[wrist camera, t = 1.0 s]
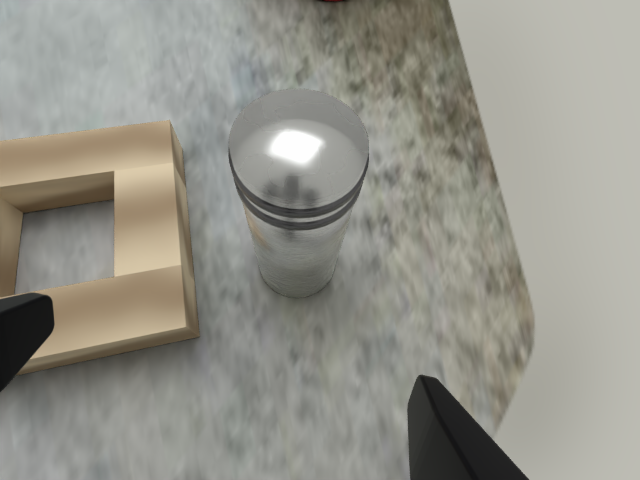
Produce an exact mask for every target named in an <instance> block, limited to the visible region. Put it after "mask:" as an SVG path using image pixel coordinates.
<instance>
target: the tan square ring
mask: <svg viewBox="0 0 640 480" xmlns="http://www.w3.org/2000/svg"><path fill="white" fill-rule="evenodd" d="M112 199H114V277H111V278H105V279H100V280H94V281H89V282H83V283H78V284H72V285H67V286H61V287H56V288H50V289H45V290H39V291H34V292H35V293H40V294H44V295H48V296H50V297H51V298H52V301H53V310H54V321H55V326H54V329H53V332H52V333H51V335H50V336H49V337H48V338H47V340H46V341H45V342H44V343H43V344H42V345H41V347H40V348H39V349H38V350H37V351H36V352H35V354H34V355H33V356H32V357H31V358H30V359H29V361H28V362H27V363H26V364H25V365H24V366H23V368H22V369H21V370H20V371H19V372H18V373H17V375H21V374H26V373H31V372H35V371H40V370H45V369H50V368H54V367H59V366H64V365H69V364H73V363H78V362H83V361H87V360H92V359H97V358H102V357H106V356H111V355H116V354H120V353H125V352H130V351H135V350H139V349H144V348H149V347H154V346H158V345H163V344H168V343H172V342H177V341H182V340H187V339H191V338H196V337H200V334H199V323H198V313H197V302H196V291H195V280H194V270H193V259H192V248H191V237H190V226H189V216H188V205H187V194H186V183H185V173H184V162H183V151H182V147H181V145H180V143H179V140H178V138H177V136H176V133H175V131H174V129H173V127H172V124H171V122H170V120H167V121H159V122H151V123H142V124H134V125H126V126H118V127H110V128H102V129H94V130H86V131H78V132H69V133H61V134H53V135H45V136H37V137H29V138H21V139H13V140H4V141H0V299H3V298H7V297H12V296H16V295H14V290H15V281H16V272H17V263H18V254H19V246H20V237H21V228H22V219H23V213H26V212H33V211H39V210H46V209H53V208H59V207H66V206H73V205H79V204H86V203H92V202H99V201H106V200H112ZM28 293H30V292H28ZM22 294H25V293H22ZM17 295H21V294H17ZM17 375H16V376H17Z"/></svg>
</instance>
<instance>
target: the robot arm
mask: <svg viewBox="0 0 640 480" xmlns="http://www.w3.org/2000/svg"><path fill="white" fill-rule="evenodd" d="M54 326H55V321H54V310H53V301H52V298H51V297H50V296H48V295H44V294H40V293H35V292H30V293H25V294H21V295H16V296H12V297H7V298H3V299H0V392H1V391H2V390H3V389H4V388H5V387H6V386H7V385H8V384H9V383H10V381H11V380H12V379H13V378H14V377H15V376H16V375H17V373H18V372H19V371H20V370H21V369H22V368H23V366H24V365H25V364H26V363H27V362H28V361H29V359H30V358H31V357H32V356H33V355H34V354H35V352H36V351H37V350H38V349H39V348H40V347H41V345H42V344H43V343H44V342H45V341H46V340H47V338H48V337H49V336H50V335H51V333H52V332H53V329H54ZM407 413H408V439H409V465H410V480H529V479H528V478H527V477H526V476H525V475H524V474H523V472H521V470H520V469H519V468H518V467H517V466H516V465H515V464H514V463H513V461H511V459H510V458H509V457H508V456H507V455H506V454H505V453H504V452H503V450H502V449H501V448H500V447H499V446H498V445H497V444H496V443H495V442H494V441H493V439H492V438H491V437H490V436H489V435H488V434H487V433H486V432H485V431H484V430H483V429H482V427H481V426H480V425H479V424H478V423H477V422H476V421H475V420H474V419H473V418H472V416H471V415H470V414H469V413H468V412H467V411H466V410H465V409H464V408H463V407H462V405H461V404H460V403H459V402H458V401H457V400H456V399H455V398H454V397H453V396H452V394H451V393H450V392H449V391H448V390H447V389H446V388H445V387H444V386H443V385H442V384H441V382H440V381H439V380H438V379H436V378H434V377H430V376H425V375H419V376H418V377H417V379H416V381H415V384H414V387H413V390H412V393H411V396H410V399H409V402H408V409H407Z"/></svg>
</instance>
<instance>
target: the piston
mask: <svg viewBox="0 0 640 480" xmlns="http://www.w3.org/2000/svg"><path fill="white" fill-rule="evenodd" d="M229 162H230V167H231V170H232V174H233V177H234V181H235V185H236V189H237V192H238V194H239V196H240V198H241V200H242V202H243V206H244V210H245V214H246V218H247V221H248V225H249V229H250V233H251V237H252V241H253V245H254V249H255V253H256V256H257V260H258V264H259V268H260V272H261V275H262V277H263V279H264V280H265V282H266V283H267V284H268V286H269V287H270V288H272V289H273V290H274V291H276V292H277V293H279V294H281V295H284V296H287V297H294V298H301V297H307V296H310V295H313V294H315V293H317V292H318V291H320V290H321V289H322V288H324V287H325V286H326V285H327V283H328V282H329V281H330V279H331V277H332V275H333V272H334V269H335V266H336V262H337V259H338V255H339V252H340V249H341V245H342V242H343V239H344V235H345V232H346V229H347V225H348V222H349V219H350V215H351V212H352V208H353V205H354V203H355V202H356V200H357V198H358V196H359V193H360V190H361V187H362V184H363V180H364V177H365V174H366V171H367V168H368V162H369V140H368V135H367V132H366V129H365V127H364V125H363V123H362V121H361V120H360V118H359V117H358V115H357V114H356V113H355V112H354V111H353V110H352V109H351V108H350V107H349V106H347V105H346V104H345V103H343V102H342V101H340V100H338V99H337V98H335V97H333V96H330V95H328V94H325V93H322V92H319V91H314V90H309V89H286V90H280V91H275V92H272V93H269V94H266V95H264V96H262V97H260V98H258V99H256V100H254V101H253V102H252V103H250V104H249V105H248V106H246V107H245V108H244V109H243V110H242V111H241V113H240V114H239V115H238V116H237V118H236V120H235V121H234V123H233V126H232V128H231V131H230V136H229Z"/></svg>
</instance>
